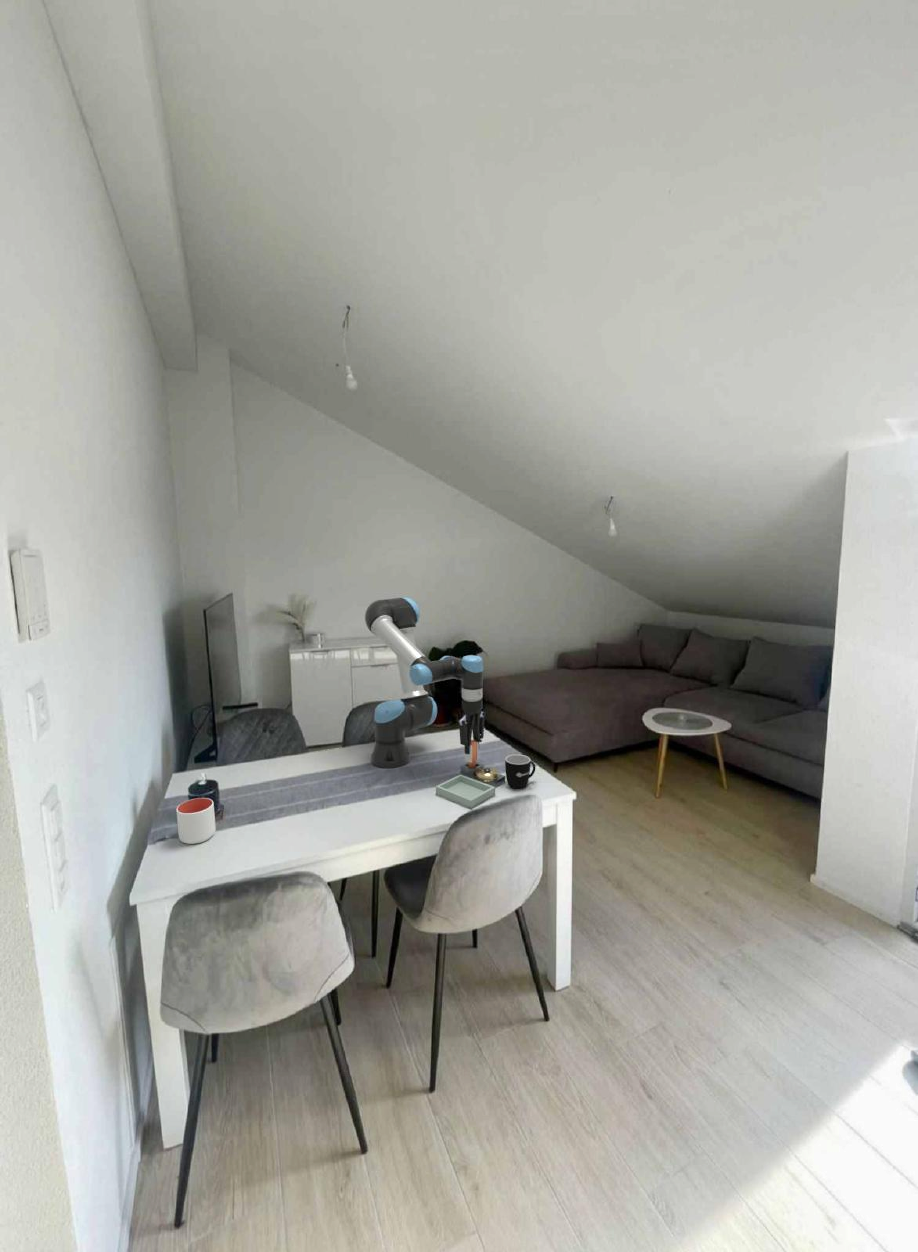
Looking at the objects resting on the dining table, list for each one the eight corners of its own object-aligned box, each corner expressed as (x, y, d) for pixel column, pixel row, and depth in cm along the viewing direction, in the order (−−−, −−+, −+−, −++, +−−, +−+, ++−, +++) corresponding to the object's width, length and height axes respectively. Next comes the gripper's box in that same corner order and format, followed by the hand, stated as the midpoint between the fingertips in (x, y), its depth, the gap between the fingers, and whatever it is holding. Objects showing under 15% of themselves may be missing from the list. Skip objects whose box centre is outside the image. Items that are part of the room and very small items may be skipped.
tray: (435, 794, 193) (435, 786, 193) (460, 782, 203) (460, 774, 203) (471, 809, 183) (471, 800, 182) (495, 795, 193) (495, 787, 192)
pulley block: (505, 782, 203) (505, 768, 202) (488, 791, 195) (488, 777, 194) (473, 771, 212) (473, 757, 212) (456, 779, 205) (456, 765, 204)
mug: (513, 793, 194) (514, 766, 192) (500, 783, 202) (500, 757, 200) (541, 786, 199) (542, 759, 198) (527, 777, 207) (528, 751, 206)
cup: (187, 828, 171) (184, 798, 170) (220, 827, 172) (218, 797, 171) (173, 846, 162) (170, 814, 160) (209, 845, 162) (206, 813, 161)
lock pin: (465, 770, 206) (465, 741, 204) (471, 767, 208) (471, 739, 206) (472, 772, 204) (472, 743, 202) (477, 769, 206) (478, 741, 204)
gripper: (465, 705, 193) (465, 769, 197) (494, 695, 205) (493, 756, 209) (449, 701, 198) (449, 764, 202) (478, 691, 210) (477, 751, 214)
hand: (471, 759), depth 205 cm, fingers closed on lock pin, 3 cm apart
